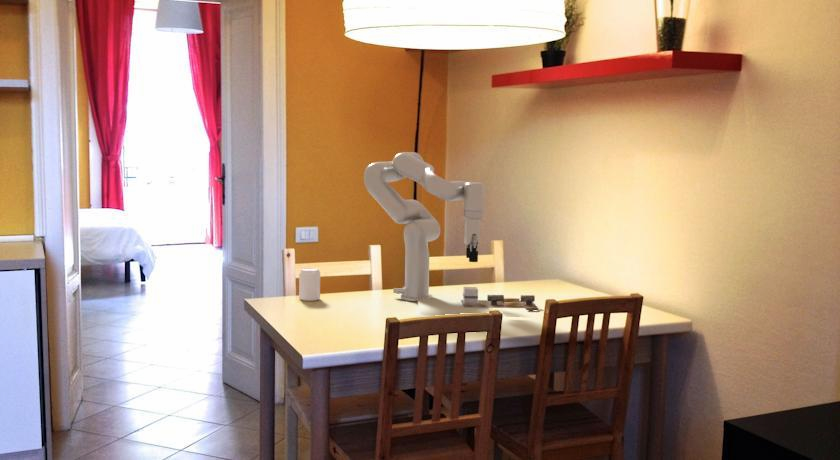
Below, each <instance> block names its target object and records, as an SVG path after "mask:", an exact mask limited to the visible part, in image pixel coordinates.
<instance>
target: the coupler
mask: <svg viewBox="0 0 840 460" xmlns="http://www.w3.org/2000/svg"><path fill="white" fill-rule="evenodd" d="M462 292H463V293H462V296H463V298H462V300H463V303H464V305H478V299H479V289H478V287H477V286H463V291H462Z"/></svg>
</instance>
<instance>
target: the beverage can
mask: <svg viewBox="0 0 840 460" xmlns="http://www.w3.org/2000/svg"><path fill="white" fill-rule="evenodd" d="M298 275H299V276H298V279H299V280H298V282H299V283H298V287H299V289H298V290H299V291H298V298H299V300H301V301H304V302H315V301H318V300H320V299H321V272H320V268H317V267H303V268H301V269H300V270H299V272H298Z"/></svg>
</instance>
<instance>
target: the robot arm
mask: <svg viewBox="0 0 840 460" xmlns="http://www.w3.org/2000/svg"><path fill="white" fill-rule="evenodd" d="M406 178H409V179H410V180H412V181H414V182H416V183H417V184H419V185H421V186H422V188H423V189H424V190H425V191H426V192H427V193H429V194H431V195H433V196H434V197H436V198H438V199H440V200H442V201H444V202H453V201H455V202H456V201H457V202H458V201H463V210H462V211H463V212H462V214H463V215H462V218H463V220H465V223H464V237H463V243H464V245H466V254H465V255H466V257H465V258H467V259H468V261H469V263H477V262H478V261H479V251H478V250H479V249H478V247H479V245H480V236H481V235H480V234H481V221H482V220H484V202H485V201H484V200H485V185H484V183H482V182H476V181H475V182H474V181H464V180H450V181H449V180H446V179H444V178H442V177H440V176H439V175H437V174H436V173H435V167H434V166H433V165H432V164H430V163H428V162H427V161H424V159H423V157H422V155H420V153H418V152H415V151H410V152H409V151H404V152H403V151H401V152H399V153H397V154H396V155H395V156H393V159H392V161H390V160H389V161H376V162H371V164H369V165H367V166H366V168H365V169H364V173H363V181H364V186H365V189H366V190H367V192H368V193H369V195H370V196H371V197H372V198H373V199H374V200H375V201H376V202H377V203H378V205H380V206H381V208H382V209H383V210H384V211H385V213H386V214H388V216H389V217H390V218H391V219H392V220H393V221H394V222H395V223H396V224H398V225H403V224H404V225H405V224H406V225H405V226H404V228H403V240H404V247H405V248H404V249H405V250H404V252H405V254H404V255H405V256H404V257H405V259H404V261H405V263H404V264H405V265H404V285H403V287H401V288H399V287H397V288H396V287H393V290H392V291H393V294H396V295H397V294H401V295H400V299H401V300H403V301H408V302H418V300H423V299H424V300H425V299H431V298H432V297H433V295H432V294H429V289H430V249H429V245H428V243H430V242H434V241H436V240H437V239H438V238H439V237H440V235H441V230H442V229H441V225H440V223H439V222H438V220H437V219H436V218H435V217H434V215H432V214H431V213H430V211H429V210H428V209H427V208H426V207H425V206H424V204H422V202H420V201H418V200H416V199H404V198H403V197H402V196H401V195H400V194H399V192H397V191H396V189H395V188H393V187H392V186H390V185H389V184H388V183H394V182H398V181H401V180H403V179H406Z"/></svg>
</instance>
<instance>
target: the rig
mask: <svg viewBox="0 0 840 460" xmlns="http://www.w3.org/2000/svg"><path fill="white" fill-rule="evenodd" d="M535 297H536V296H535V295H534V294H533V295H531V294H529V295H525V294H524V295H523V294H521V295H520V298H514V297H513V298H512V297H511V298H510V297H507V298H506V297H505V295H503V294H487V298H486V299H485V300H484V299H482V300H481V299H479V300H478V305H464V303H463V299H461V300H460V302H461V304H462V306H463V308H482V309H483V308H487V309H488V308H490V309H491V308H495V309H497V308H498V309H525V310H526V311H527V310H538V311H539V307H538V306H537V305H536V304H535V303H534V302H535V299H536V298H535Z"/></svg>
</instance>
